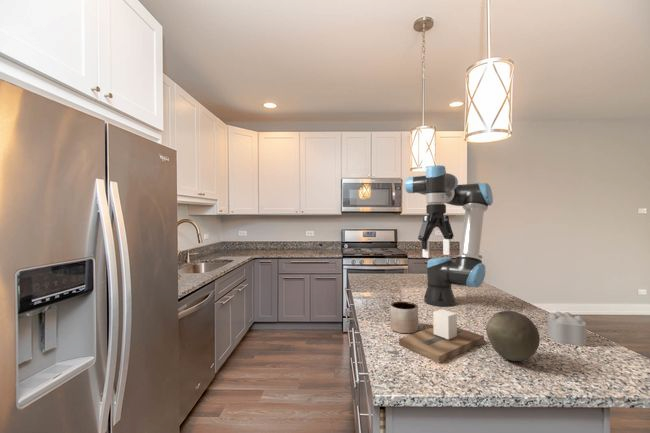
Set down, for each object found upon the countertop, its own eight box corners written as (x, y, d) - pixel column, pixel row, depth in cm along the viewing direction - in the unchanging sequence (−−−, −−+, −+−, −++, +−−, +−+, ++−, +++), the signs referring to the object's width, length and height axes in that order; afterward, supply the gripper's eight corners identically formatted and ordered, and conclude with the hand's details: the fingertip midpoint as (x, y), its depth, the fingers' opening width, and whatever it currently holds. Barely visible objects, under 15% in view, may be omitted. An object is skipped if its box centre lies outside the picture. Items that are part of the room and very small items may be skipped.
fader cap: (441, 330, 110) (441, 309, 110) (457, 336, 106) (456, 313, 105) (433, 333, 108) (433, 311, 108) (448, 339, 103) (448, 316, 103)
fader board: (443, 328, 119) (443, 322, 119) (484, 342, 106) (483, 335, 106) (399, 344, 105) (399, 338, 105) (439, 363, 92) (439, 355, 92)
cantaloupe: (483, 347, 102) (483, 303, 102) (532, 354, 97) (532, 308, 97) (490, 367, 89) (489, 317, 89) (547, 376, 84) (546, 322, 84)
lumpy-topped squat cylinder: (552, 342, 106) (552, 318, 106) (543, 329, 117) (543, 307, 117) (590, 347, 101) (590, 322, 101) (577, 333, 113) (577, 310, 113)
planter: (407, 322, 127) (406, 300, 127) (424, 331, 116) (424, 307, 116) (385, 326, 123) (384, 303, 123) (401, 336, 113) (400, 310, 113)
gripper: (424, 203, 112) (424, 259, 112) (462, 204, 126) (462, 254, 126) (408, 204, 118) (408, 257, 118) (446, 204, 132) (446, 252, 132)
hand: (436, 256), depth 122 cm, fingers open, 13 cm apart
